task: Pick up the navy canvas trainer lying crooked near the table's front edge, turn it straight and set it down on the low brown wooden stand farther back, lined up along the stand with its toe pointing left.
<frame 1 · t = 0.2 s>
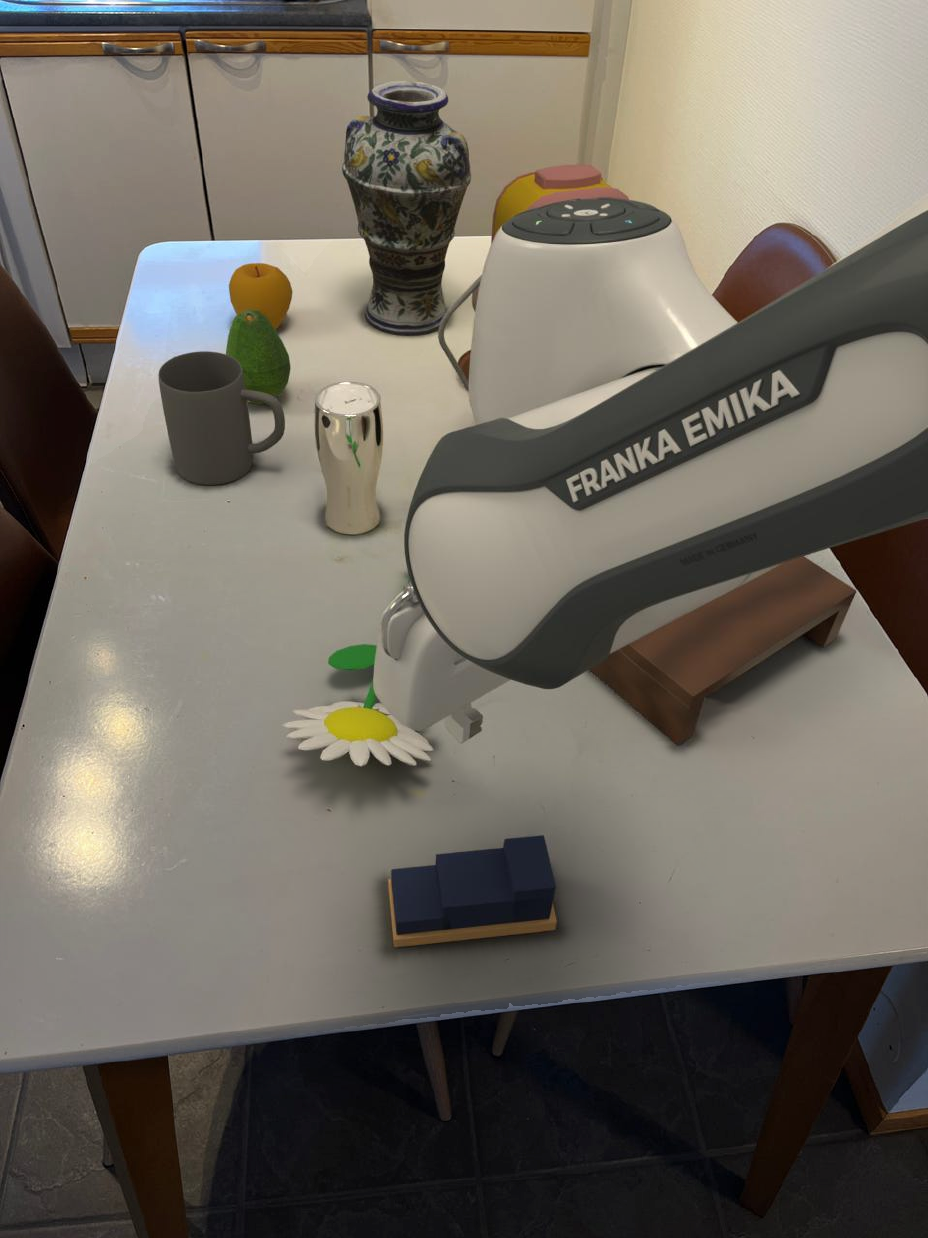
hand: (521, 696, 60), 21 cm above the table, tool pointing down, fingers open, 8 cm apart
apple: (264, 328, 138), on the table
beer glass: (352, 519, 107), on the table
brown wooden stand: (686, 631, 96), on the table
decorative flower: (384, 681, 89), on the table
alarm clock: (553, 305, 147), on the table
mug: (233, 467, 113), on the table
fruit: (262, 401, 124), on the table
cup and saucer: (501, 380, 130), on the table
vase: (406, 316, 142), on the table
trainer: (470, 908, 73), on the table
lantern: (545, 470, 115), on the table
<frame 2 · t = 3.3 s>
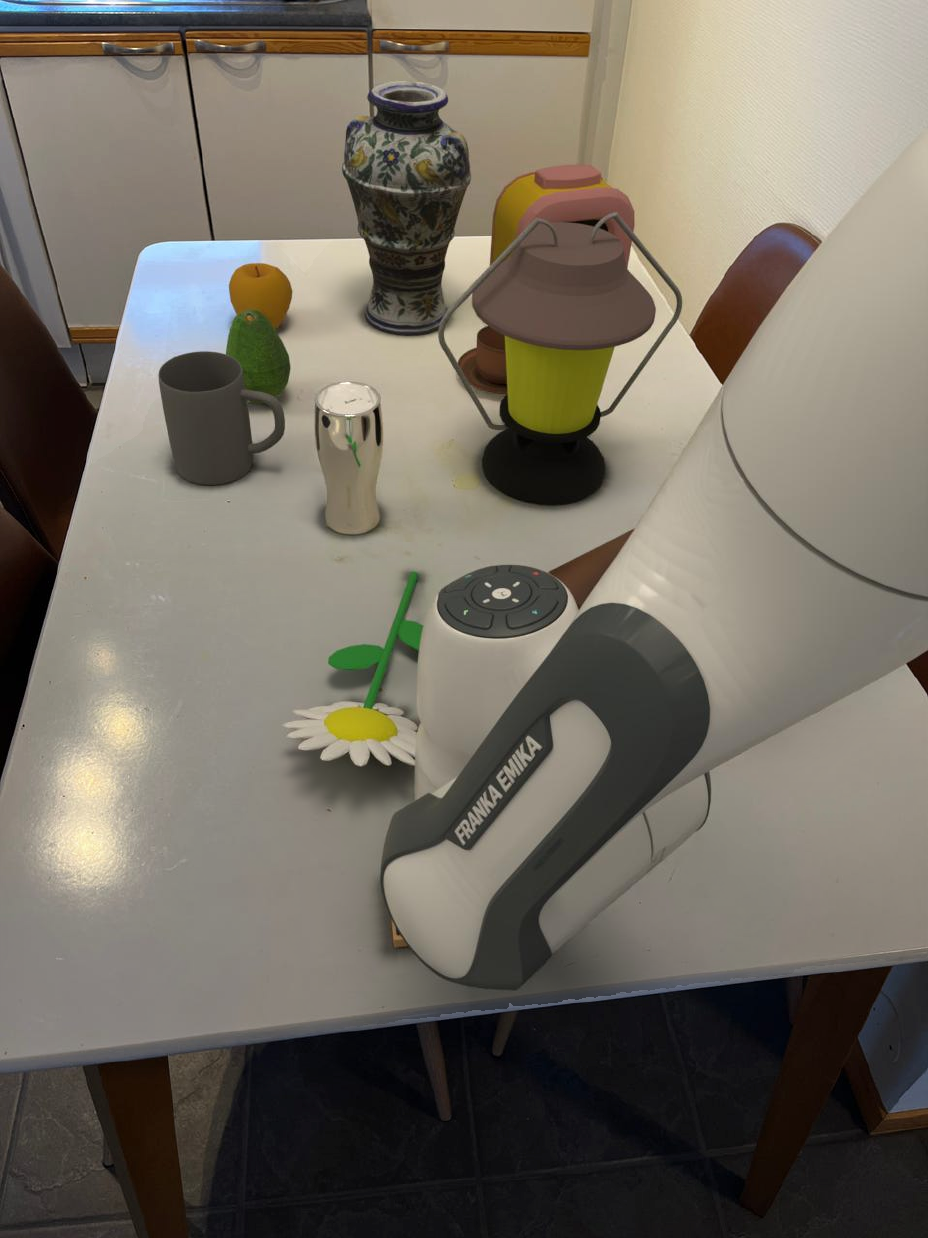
hand: (472, 892, 71), 2 cm above the table, tool pointing down, fingers closed on trainer, 4 cm apart
trainer: (470, 908, 73), on the table, touching gripper
everything else where it was.
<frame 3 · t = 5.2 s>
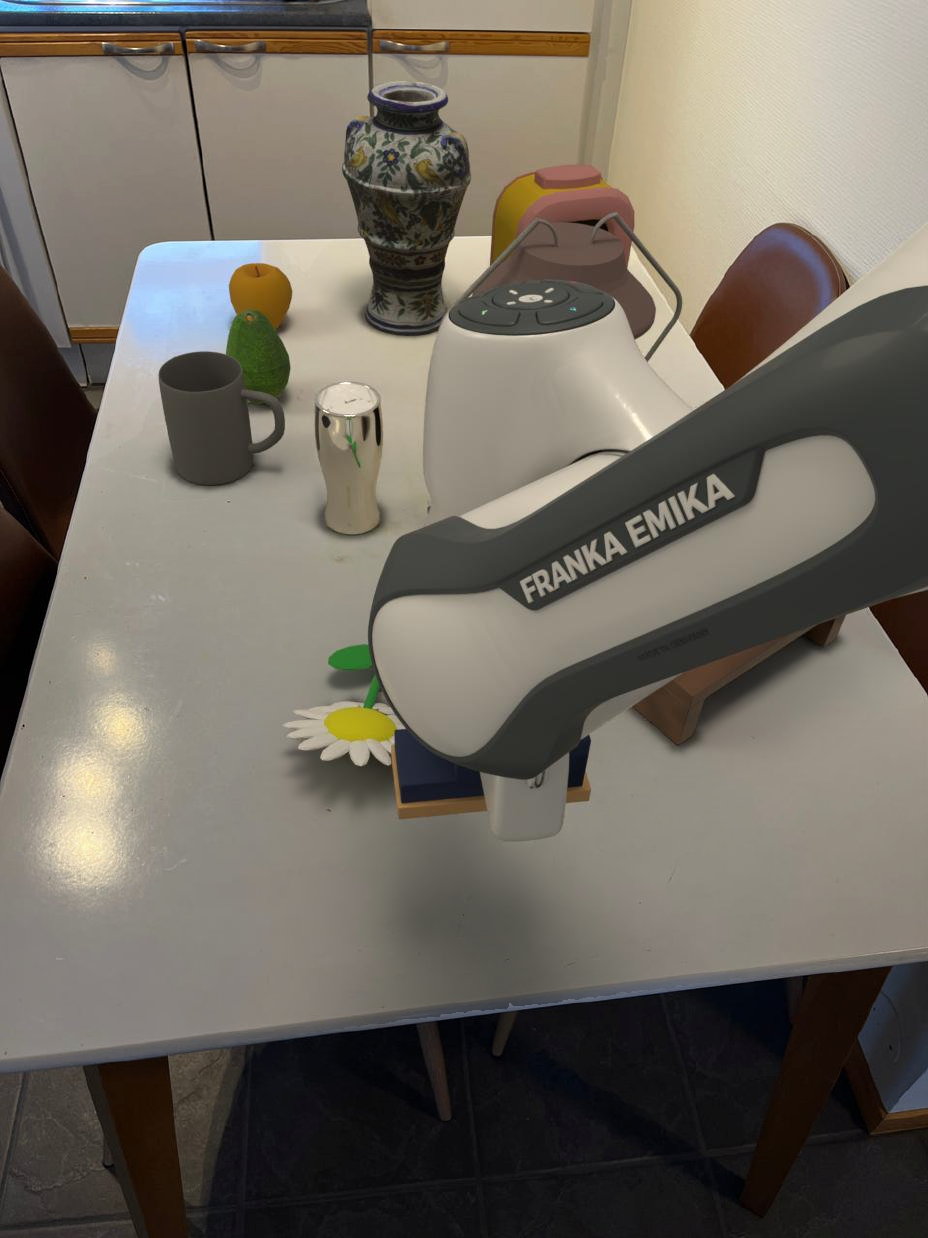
hand: (490, 754, 60), 18 cm above the table, tool pointing down, fingers closed on trainer, 4 cm apart
trainer: (488, 778, 62), point 16 cm above the table, touching gripper
everything else where it was.
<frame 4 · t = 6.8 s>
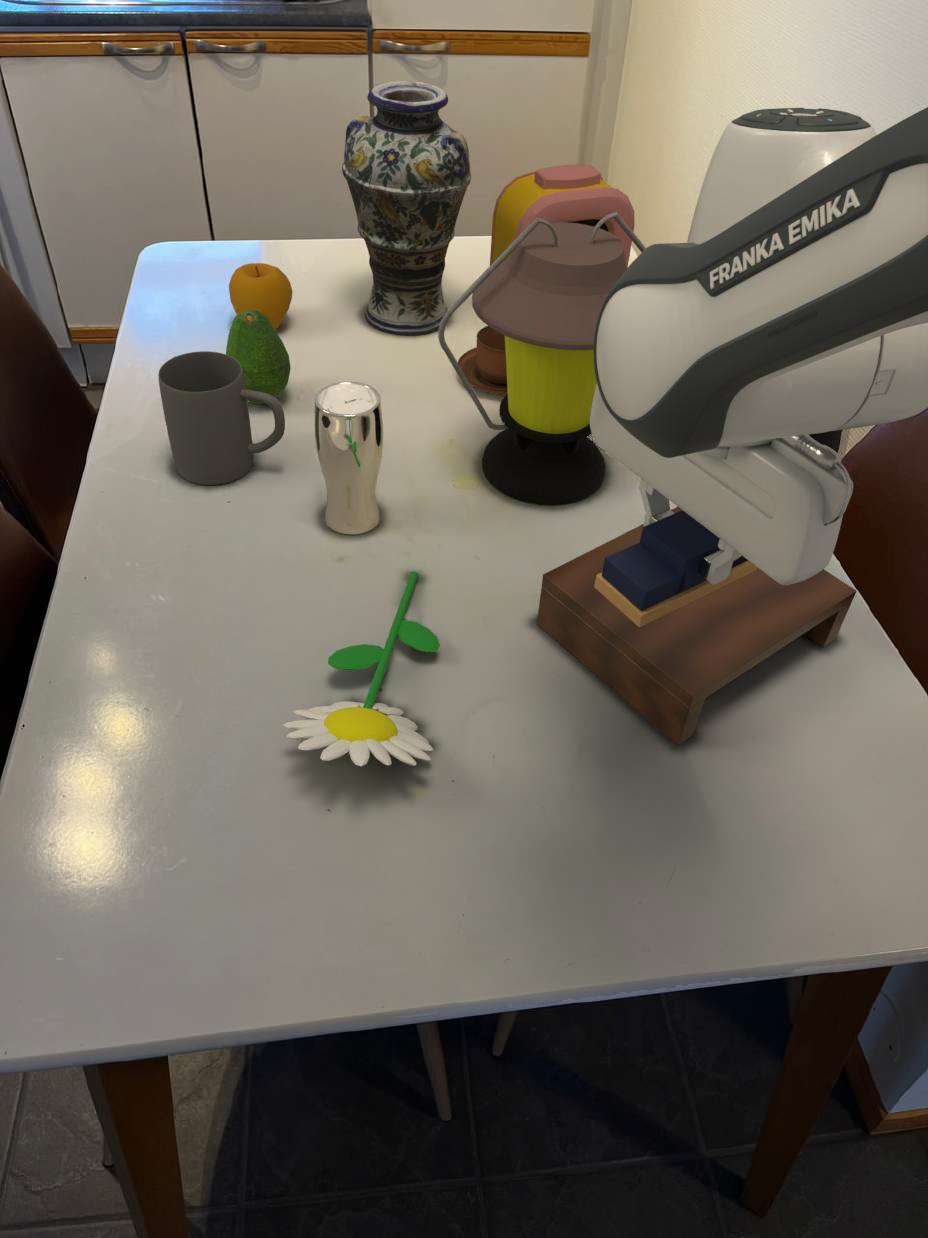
hand: (683, 553, 71), 22 cm above the table, tool pointing down, fingers closed on trainer, 4 cm apart
trainer: (676, 578, 72), point 19 cm above the table, touching gripper
everything else where it was.
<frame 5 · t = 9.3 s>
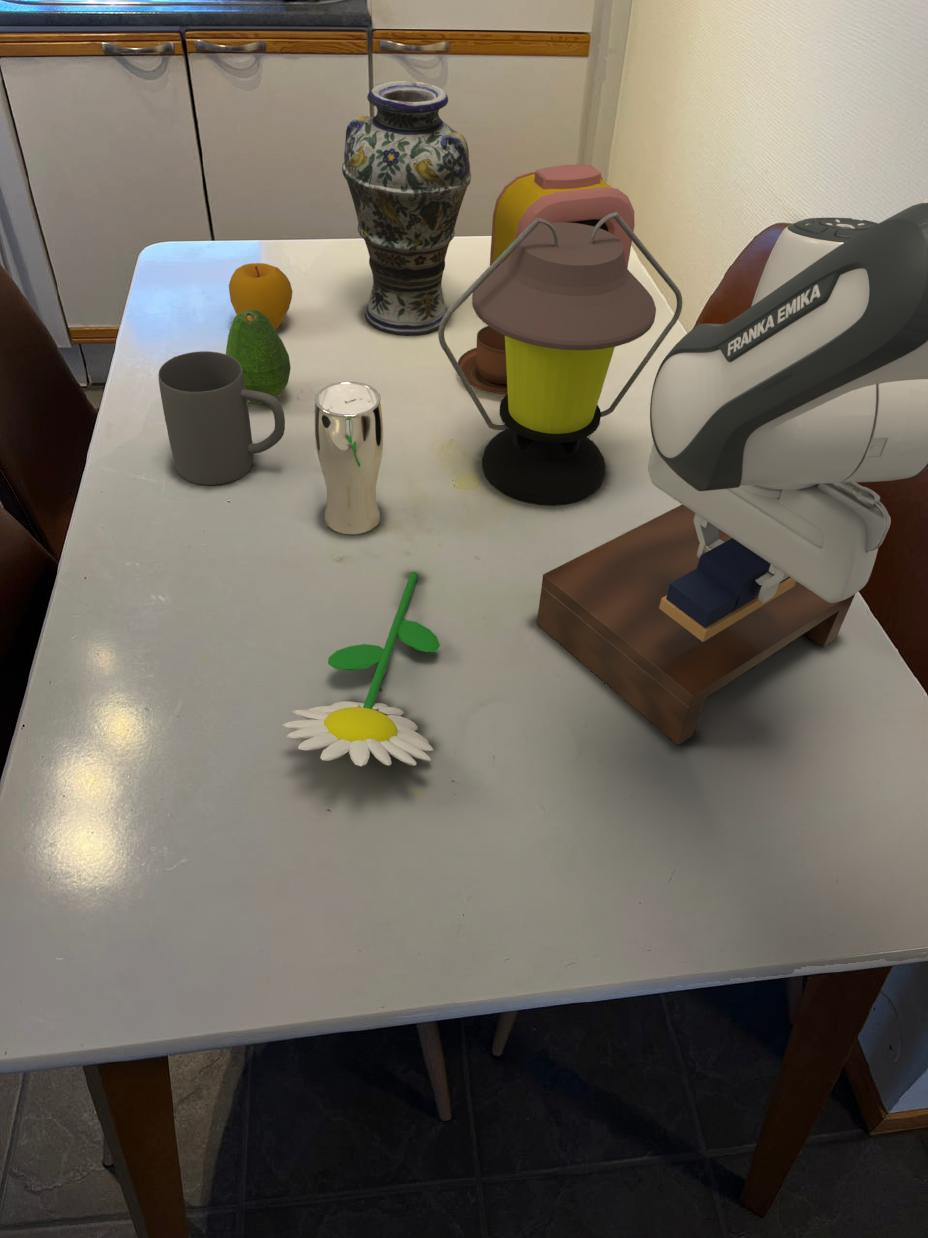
hand: (734, 576, 82), 13 cm above the table, tool pointing down, fingers closed on trainer, 4 cm apart
trainer: (727, 597, 83), point 11 cm above the table, touching gripper
everything else where it was.
when the fingers open (9 cm above the table, at t = 10.7 s): trainer stays where it is, resting on brown wooden stand.
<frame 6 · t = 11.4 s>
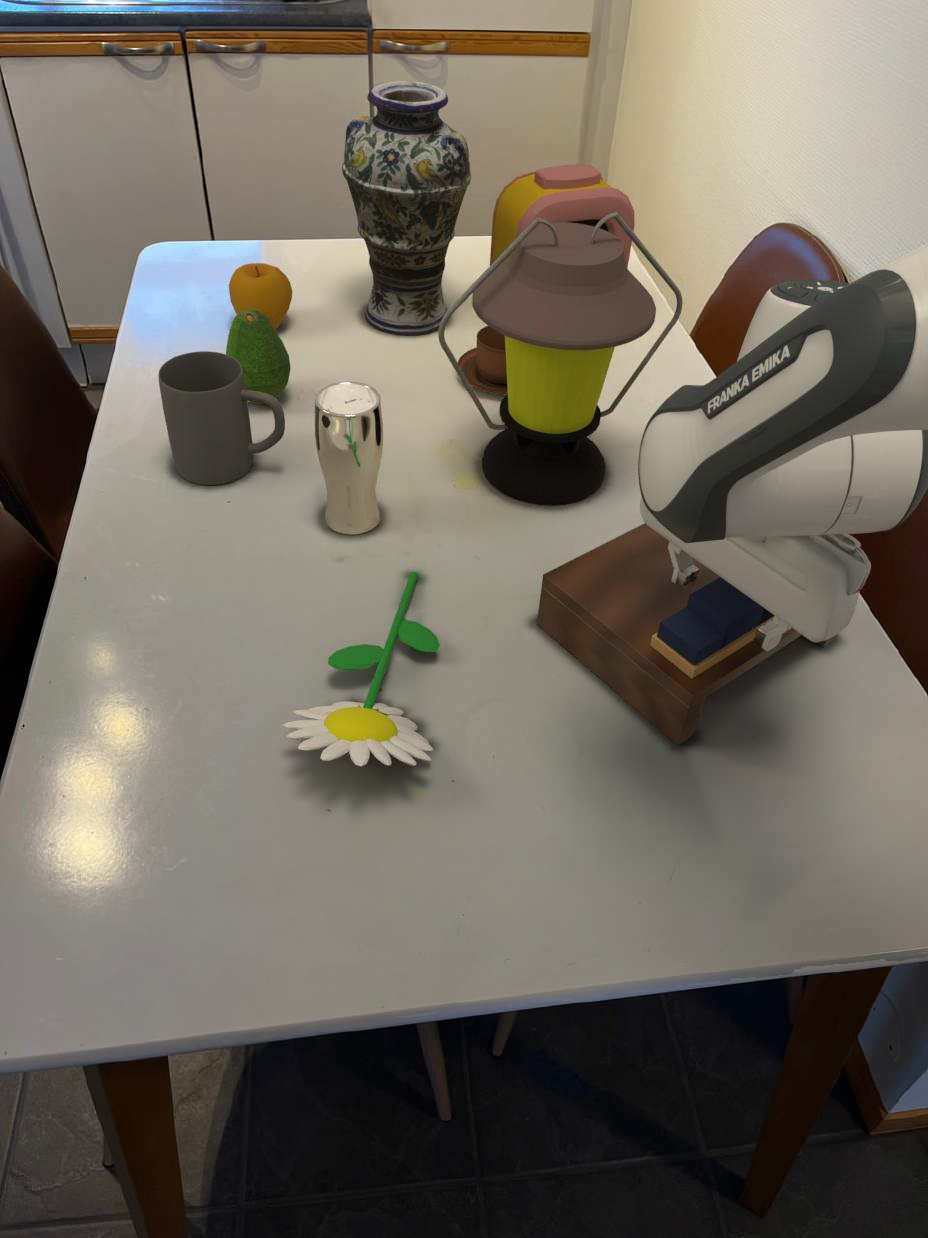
hand: (722, 612, 85), 9 cm above the table, tool pointing down, fingers open, 8 cm apart
trainer: (716, 633, 86), point 6 cm above the table, touching brown wooden stand
everything else where it was.
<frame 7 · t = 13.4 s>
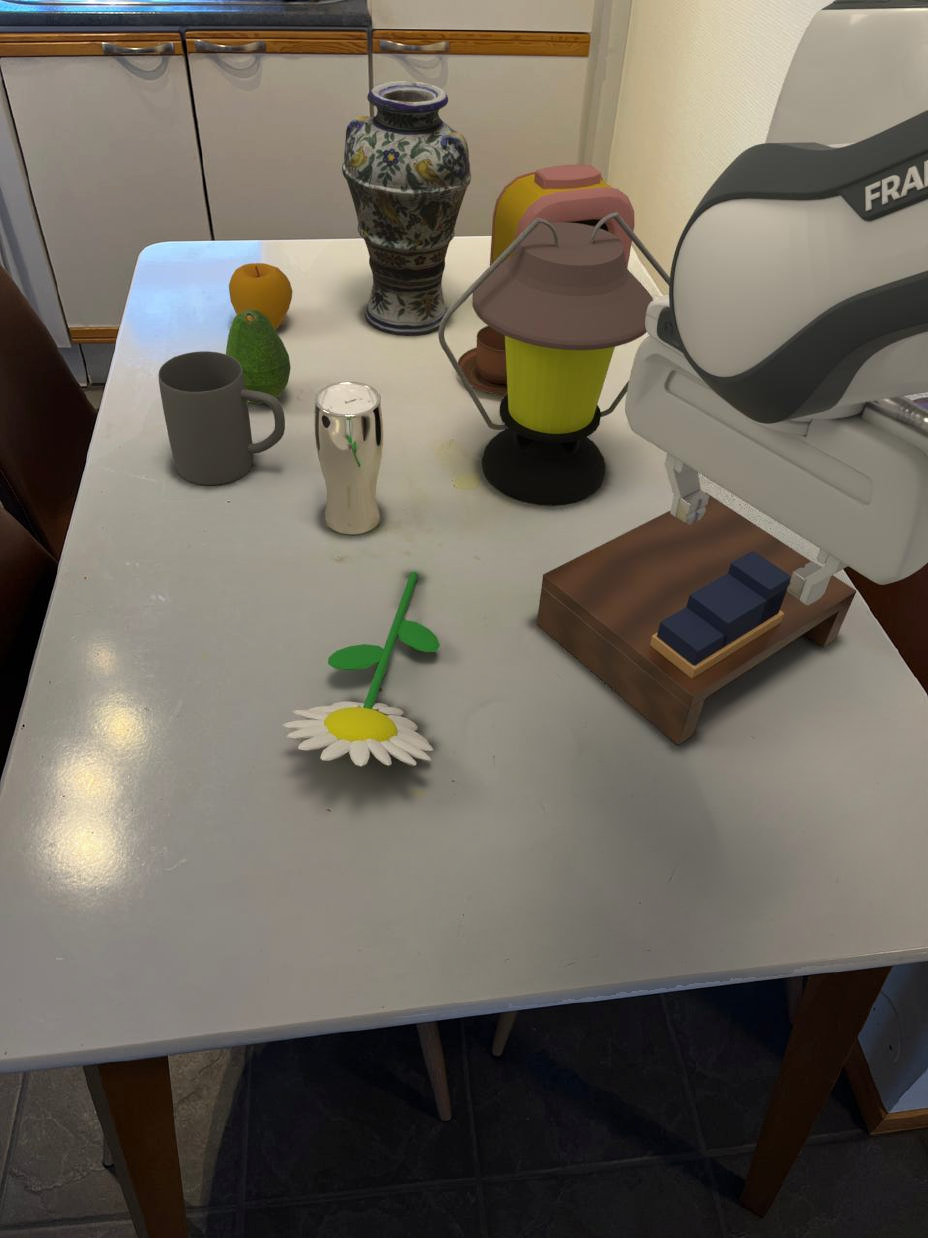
hand: (742, 554, 60), 28 cm above the table, tool pointing down, fingers open, 8 cm apart
nothing on the table moved.
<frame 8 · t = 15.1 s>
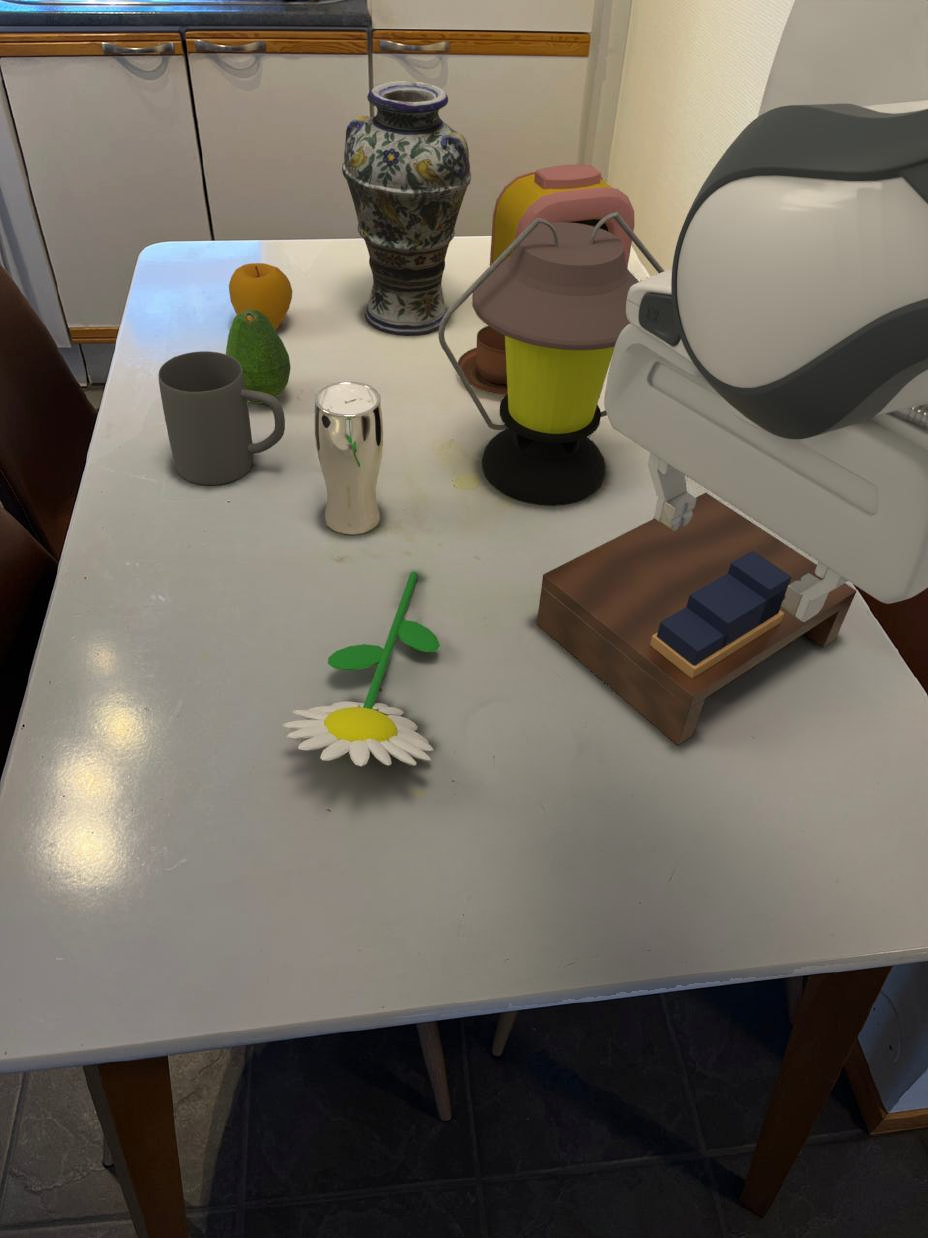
hand: (732, 564, 55), 31 cm above the table, tool pointing down, fingers open, 8 cm apart
nothing on the table moved.
at the end: trainer inside the target area on the brown wooden stand (0.1 cm from its centre), point 6.5 cm above the brown wooden stand's base; trainer tilted 0°; the gripper is holding nothing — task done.
